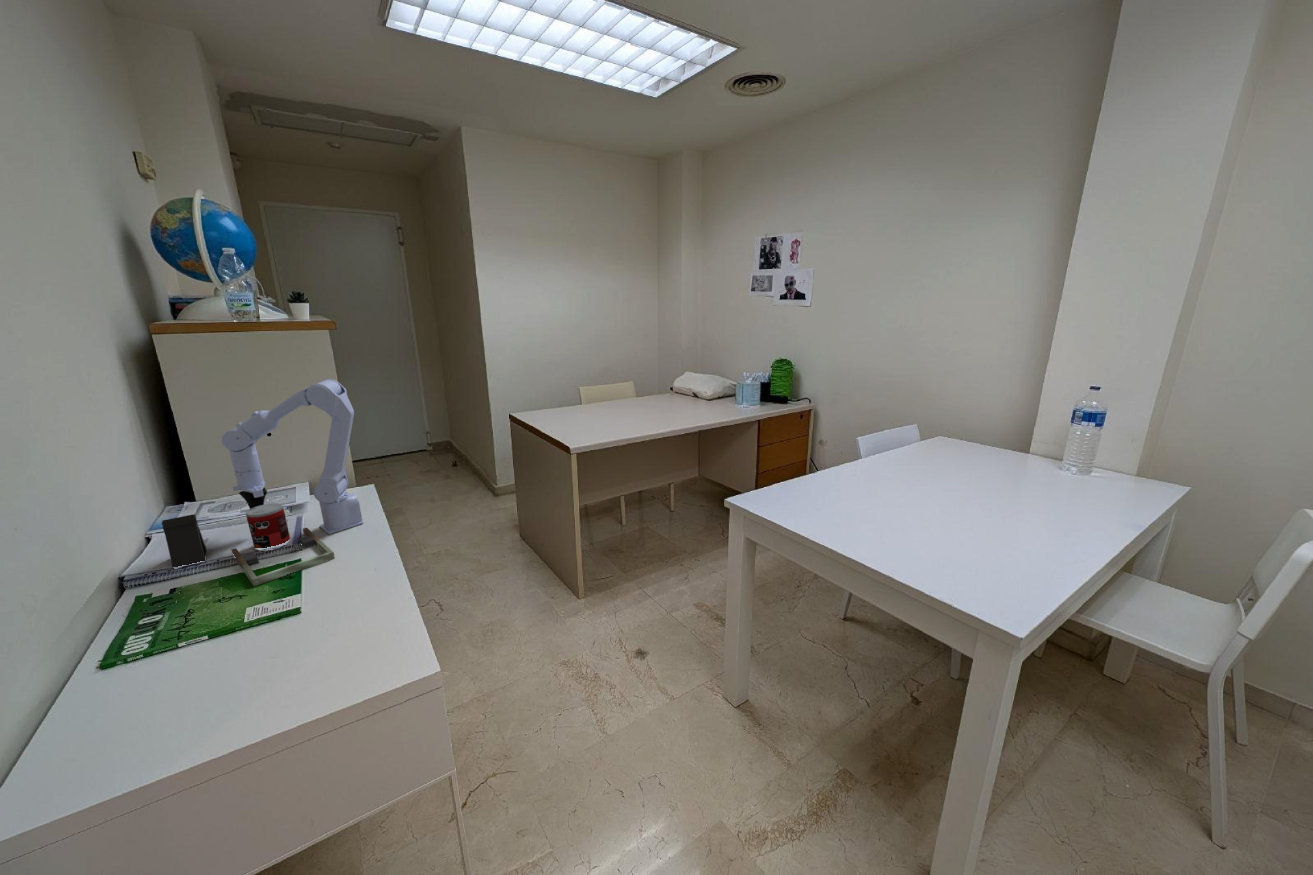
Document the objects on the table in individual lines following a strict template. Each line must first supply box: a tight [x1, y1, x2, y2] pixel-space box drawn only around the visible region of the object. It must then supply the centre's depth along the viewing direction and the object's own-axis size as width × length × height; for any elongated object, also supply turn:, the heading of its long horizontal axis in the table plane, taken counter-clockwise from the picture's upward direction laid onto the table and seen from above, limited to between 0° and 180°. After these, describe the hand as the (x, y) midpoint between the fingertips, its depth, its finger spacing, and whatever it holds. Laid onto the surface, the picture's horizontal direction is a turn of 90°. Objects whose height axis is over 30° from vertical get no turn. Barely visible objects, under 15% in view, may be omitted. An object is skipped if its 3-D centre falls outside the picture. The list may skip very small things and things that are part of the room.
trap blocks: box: [241, 535, 316, 567], centre depth 129 cm, size 15×4×2 cm, turn 141°
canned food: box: [245, 502, 291, 548], centre depth 132 cm, size 8×8×11 cm
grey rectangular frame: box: [231, 527, 336, 587], centre depth 127 cm, size 17×22×2 cm
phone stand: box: [161, 513, 207, 568], centre depth 124 cm, size 9×6×12 cm, turn 40°
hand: (258, 513), depth 137 cm, fingers closed
